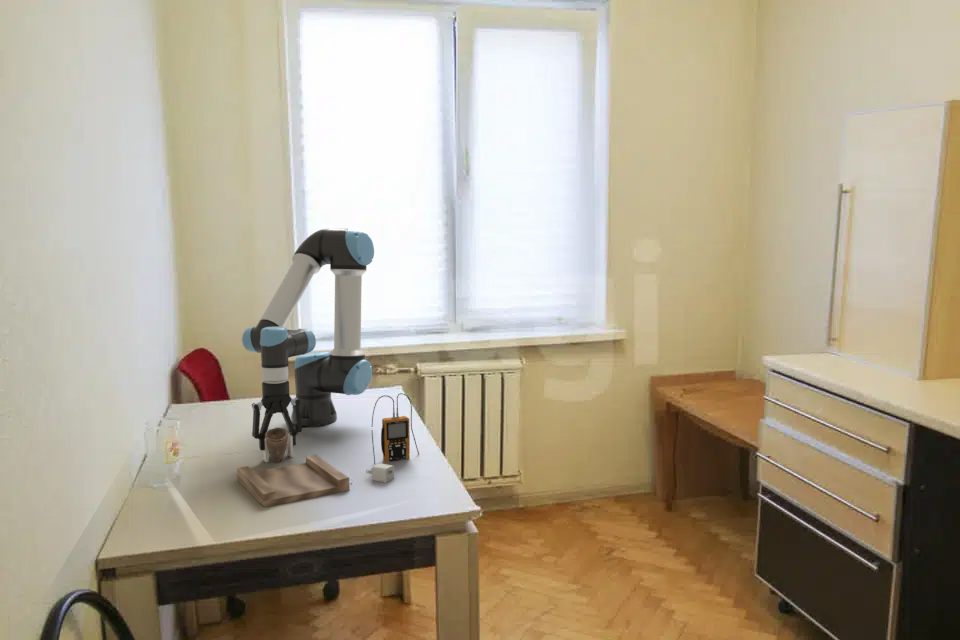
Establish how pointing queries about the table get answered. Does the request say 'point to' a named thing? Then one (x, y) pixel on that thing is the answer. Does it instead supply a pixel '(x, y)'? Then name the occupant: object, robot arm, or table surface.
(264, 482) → the block
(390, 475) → the usb wall charger
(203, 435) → the table surface
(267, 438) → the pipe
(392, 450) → the multimeter
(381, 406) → the table surface
